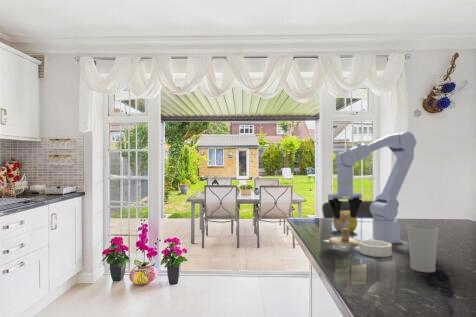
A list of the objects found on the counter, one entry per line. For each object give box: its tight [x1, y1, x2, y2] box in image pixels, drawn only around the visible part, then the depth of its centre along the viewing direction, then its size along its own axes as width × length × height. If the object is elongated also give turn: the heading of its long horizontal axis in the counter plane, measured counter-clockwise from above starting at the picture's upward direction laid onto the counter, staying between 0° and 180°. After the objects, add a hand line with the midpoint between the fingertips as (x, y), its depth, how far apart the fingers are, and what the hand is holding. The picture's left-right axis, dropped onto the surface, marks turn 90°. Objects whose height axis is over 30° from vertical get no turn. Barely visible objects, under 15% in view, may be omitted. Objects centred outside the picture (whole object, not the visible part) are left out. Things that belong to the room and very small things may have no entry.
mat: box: [322, 239, 356, 249], centre depth 121 cm, size 12×12×1 cm
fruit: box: [332, 210, 358, 234], centre depth 141 cm, size 10×11×10 cm
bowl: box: [358, 239, 393, 258], centre depth 107 cm, size 10×10×4 cm
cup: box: [406, 224, 439, 273], centre depth 92 cm, size 8×8×12 cm
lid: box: [328, 228, 361, 247], centre depth 121 cm, size 12×12×5 cm
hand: (345, 218), depth 121 cm, fingers open, 7 cm apart
